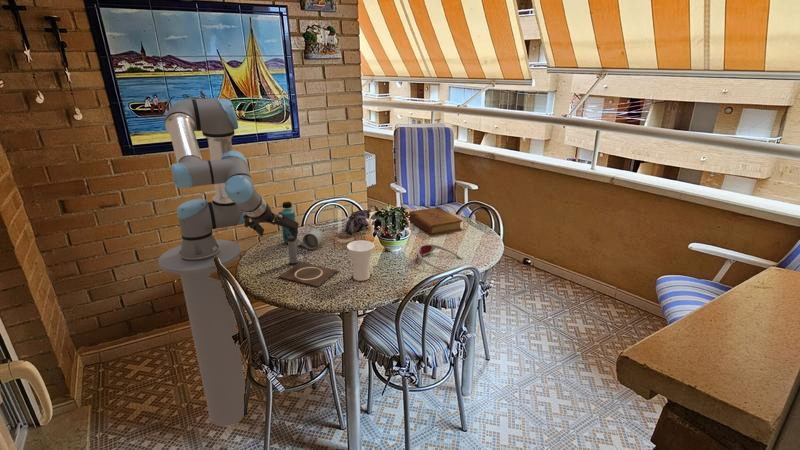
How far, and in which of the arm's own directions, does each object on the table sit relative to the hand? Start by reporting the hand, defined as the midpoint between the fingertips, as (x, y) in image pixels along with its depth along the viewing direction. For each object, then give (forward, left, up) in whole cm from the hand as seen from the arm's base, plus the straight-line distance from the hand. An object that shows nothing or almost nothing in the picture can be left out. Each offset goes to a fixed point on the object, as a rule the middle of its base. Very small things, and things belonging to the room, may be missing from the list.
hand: (279, 233), depth 156 cm
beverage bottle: (-18, +27, -18) cm, 37 cm away
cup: (+29, +11, -18) cm, 36 cm away
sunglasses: (+51, +37, -18) cm, 66 cm away
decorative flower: (+3, +55, -18) cm, 58 cm away
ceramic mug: (-7, +28, -18) cm, 34 cm away
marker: (-3, +10, -18) cm, 21 cm away
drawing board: (+9, +4, -18) cm, 20 cm away
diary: (+36, +77, -18) cm, 87 cm away
